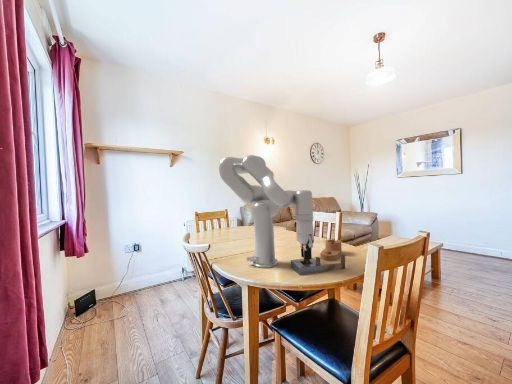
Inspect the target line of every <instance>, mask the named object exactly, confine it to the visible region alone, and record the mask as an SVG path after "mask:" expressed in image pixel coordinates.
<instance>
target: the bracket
mask: <svg viewBox="0 0 512 384" xmlns="http://www.w3.org/2000/svg"><path fill="white" fill-rule="evenodd" d="M324 243H325V248H324V249H323V250H322V251H321V252H320V260H323V261H326V262H327V261H328V262H334V261H337V260H338V259H339V258H340V255H342V240H340V239H336V240H335V239H334V238H333V239H326V240H325V242H324Z"/></svg>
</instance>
